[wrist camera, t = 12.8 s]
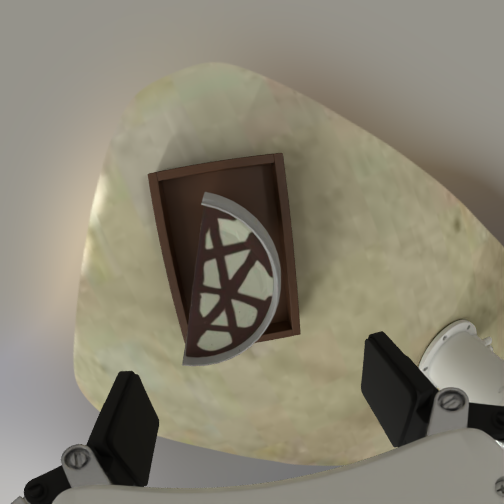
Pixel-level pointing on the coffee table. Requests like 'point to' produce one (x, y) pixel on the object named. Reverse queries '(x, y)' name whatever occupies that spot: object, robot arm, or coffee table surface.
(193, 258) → the tray
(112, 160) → the coffee table surface
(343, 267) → the coffee table surface
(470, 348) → the robot arm
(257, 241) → the lattice half-cylinder
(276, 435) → the coffee table surface
